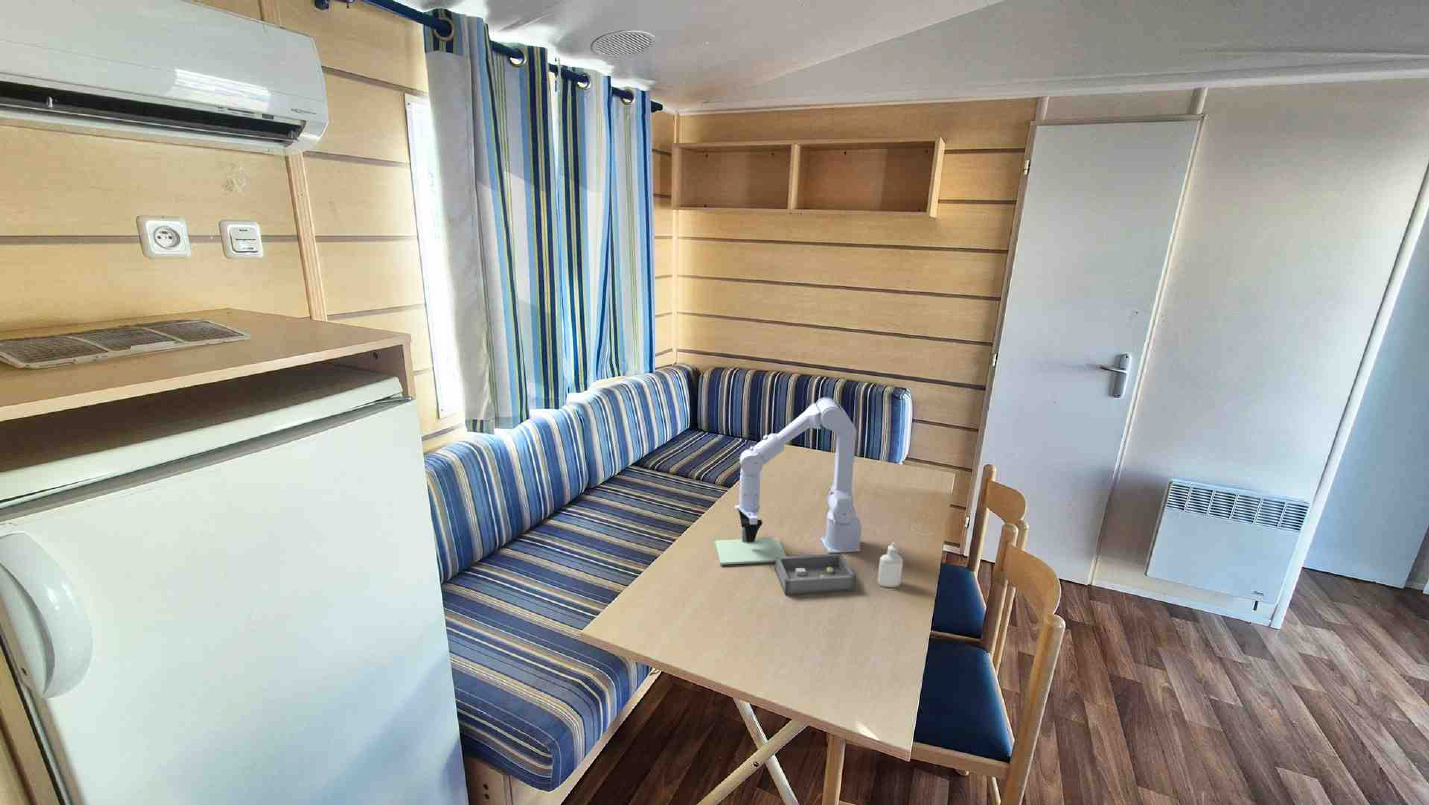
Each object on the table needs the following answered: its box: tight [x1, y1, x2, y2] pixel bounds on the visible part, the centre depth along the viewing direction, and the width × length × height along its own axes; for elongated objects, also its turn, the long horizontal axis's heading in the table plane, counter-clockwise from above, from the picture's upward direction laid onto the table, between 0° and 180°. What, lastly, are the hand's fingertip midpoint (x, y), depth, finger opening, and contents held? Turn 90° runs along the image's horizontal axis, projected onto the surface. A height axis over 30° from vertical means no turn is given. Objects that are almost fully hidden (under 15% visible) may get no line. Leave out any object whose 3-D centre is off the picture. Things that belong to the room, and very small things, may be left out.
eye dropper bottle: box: [877, 541, 904, 588], centre depth 147 cm, size 4×6×12 cm
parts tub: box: [774, 553, 856, 596], centre depth 149 cm, size 18×11×4 cm, turn 97°
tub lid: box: [714, 526, 787, 566], centre depth 161 cm, size 19×12×5 cm, turn 97°
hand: (747, 534), depth 165 cm, fingers open, 7 cm apart
